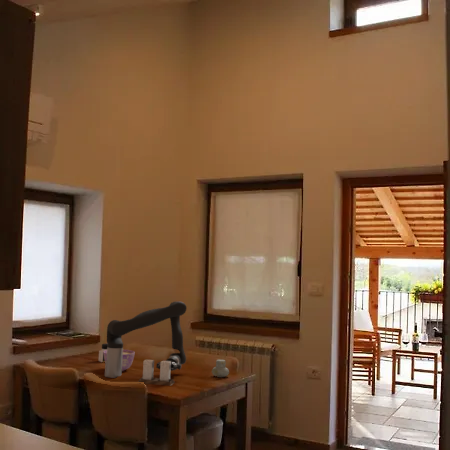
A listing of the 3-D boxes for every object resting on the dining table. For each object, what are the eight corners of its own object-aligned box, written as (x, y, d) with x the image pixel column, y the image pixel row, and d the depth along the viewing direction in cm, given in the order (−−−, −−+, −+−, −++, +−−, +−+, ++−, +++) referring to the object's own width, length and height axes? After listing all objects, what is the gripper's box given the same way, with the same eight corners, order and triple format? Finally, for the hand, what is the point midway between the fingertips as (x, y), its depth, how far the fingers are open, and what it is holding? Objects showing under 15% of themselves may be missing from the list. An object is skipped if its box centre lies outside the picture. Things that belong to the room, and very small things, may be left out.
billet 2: (159, 383, 313) (160, 362, 314) (161, 381, 318) (162, 360, 319) (168, 384, 312) (169, 362, 313) (170, 382, 317) (171, 361, 318)
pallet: (136, 384, 311) (136, 380, 311) (141, 380, 322) (141, 376, 322) (171, 387, 309) (171, 382, 309) (175, 383, 320) (175, 378, 320)
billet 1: (142, 382, 314) (143, 360, 315) (144, 380, 319) (145, 359, 320) (150, 382, 313) (152, 361, 314) (153, 381, 318) (154, 360, 319)
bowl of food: (127, 374, 338) (128, 355, 339) (96, 371, 342) (97, 352, 343) (138, 368, 357) (139, 350, 358) (109, 366, 361) (110, 348, 362)
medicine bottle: (102, 362, 372) (103, 344, 373) (98, 361, 378) (99, 343, 379) (112, 362, 376) (113, 344, 377) (108, 360, 382) (109, 342, 383)
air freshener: (209, 375, 347) (210, 359, 348) (220, 374, 352) (221, 358, 353) (220, 378, 339) (220, 362, 339) (230, 377, 344) (231, 361, 344)
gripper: (161, 356, 335) (154, 360, 319) (184, 357, 333) (178, 362, 317) (160, 368, 334) (154, 373, 318) (183, 370, 333) (178, 375, 317)
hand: (166, 368), depth 318 cm, fingers open, 8 cm apart
